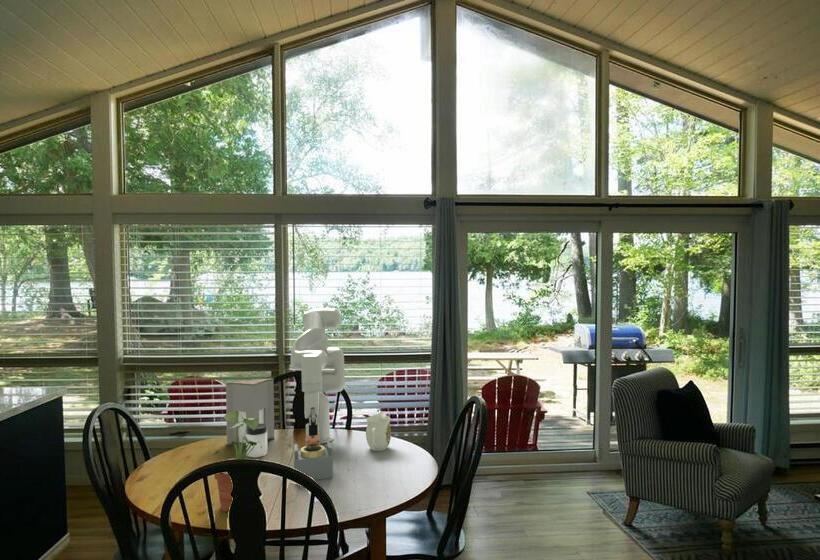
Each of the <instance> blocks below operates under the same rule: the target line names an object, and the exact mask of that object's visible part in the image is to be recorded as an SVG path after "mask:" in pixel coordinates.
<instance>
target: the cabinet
mask: <svg viewBox="0 0 820 560" xmlns="http://www.w3.org/2000/svg"><path fill="white" fill-rule="evenodd" d="M274 383H275V381H274V378H264V379H253V380H251V379H250V380H240V381H230V382H228V381H227V382H225V394H226V395H225V405H226V407H225V409H226V414H228V413H230V412H239V415H238V422H240V421H243V420H244V419H242V417H241V415H242V416H243V417H245V418H259V419H258V420H259V422H258V424H265V425H266V426H267V441H269V440H274V439H275V400H274V399H275V396H274V395H275V394H274V393H275V389H274V388H275V387H274V386H275V385H274ZM226 414H225V415H226ZM230 423H231V424H230ZM236 424H237V423H236V422H231V421H226V445H227V446H231V445H232V446H233V444H232V443H231V442H234V438H233V434H234V437H235V441H236V443H237V446H239V442H238V436H239V441H240V446H241V443H242V440H243V437H245V436H246V434H247V429H246V427H247V425H246V423H244V425H243V426H241V425H240V428H239V427H234V428H232V429H231V427H233V426H235V425H236ZM228 426H229V427H230V428H229V427H228ZM232 430H233V433H232ZM237 430H238V434H237ZM245 430H246V432H245ZM244 434H245V436H244ZM245 442H246V440H243V445H242V447H243V446H244V447H246V443H245Z"/></svg>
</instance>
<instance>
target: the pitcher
mask: <svg viewBox="0 0 820 560" xmlns="http://www.w3.org/2000/svg"><path fill="white" fill-rule="evenodd" d="M366 422H367V423H366V424H367V426H366V429H365V438H366V441H367V445H368V447H369V448H370V450H371V451H374V452H383V451H386V450H387V448H388V447H389V446H390V442H391V439H392V427H391V425H390V422H391V417H390V416H389V415H387V414H386V413H385V412H378V413H376V414H373V415H370V416H368V417H366Z"/></svg>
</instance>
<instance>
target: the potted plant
mask: <svg viewBox="0 0 820 560" xmlns="http://www.w3.org/2000/svg"><path fill="white" fill-rule="evenodd" d="M238 415H239V412H230V413H228V414H224V416H223V419H224V420H225V421H226V422H227V421H231V422H236V423H237V424H236V425H235V426H233V427H231V429H232V428H234V427H239V428H240V425H241V426H243V425H244V423H246V425H247V426H249V427H250V428H252V429H253V430H255V429H256V428H257V426H258V422H259V420H258V419H259V418H245V417H243V416H242V415H241V417H242V419H244V420H243V421H240V422H238ZM230 424H231V423H230ZM228 427H229V426H228ZM229 428H230V427H229ZM246 429H247V427H246ZM245 432H246V430H245ZM232 433H233V430H232ZM237 434H238V430H237ZM244 436H245V434H244ZM233 438H234V442H231V443H232V444H233V445H232V446H233V448H234V450H235V456H236V457H235V458H234V457H232V458H228V459H227V460H232V459H247V457H248V455H247V451H248V450H249V448H250V447H251V445H252V446H254V445H256V444H257V443H256V442H253V441H251V440H248V439H247V438H246V436H245V437H243V440H246V441H247V442H245V443H248V444H247V446H245V448H244V451H243V446H242V445H243V440H242V443H241V445H240V441H239V436H238V442H239V445H237V443H236V441H235V437H234V434H233ZM258 443H260V441H258ZM249 444H250V446H249ZM260 444H261V443H260ZM248 446H249V447H248ZM247 447H248V449H247ZM254 447H255V446H254ZM254 447H253V448H254ZM253 448H252V449H253ZM246 449H247V450H246ZM252 449H251V450H250V452H251V451H252ZM242 451H243V454H242ZM250 452H249V453H250ZM249 453H248V454H249ZM214 480H216V482H217V490H218V496H219V504H220V510H221V511H222V512H229V507H230V505H231V502H232V497H231V495H230V494H231V491H232V482H231V479H230V477H229V475H228V473H219V474H214Z"/></svg>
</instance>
